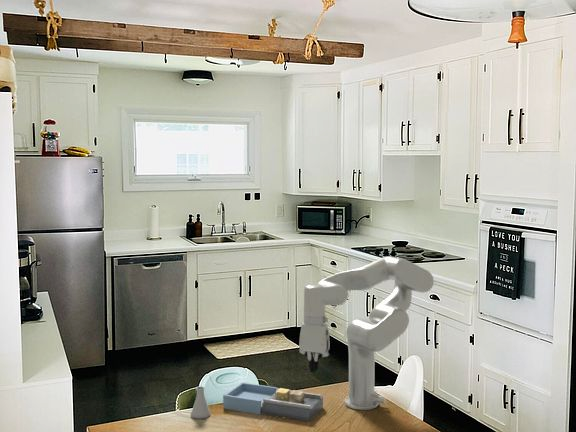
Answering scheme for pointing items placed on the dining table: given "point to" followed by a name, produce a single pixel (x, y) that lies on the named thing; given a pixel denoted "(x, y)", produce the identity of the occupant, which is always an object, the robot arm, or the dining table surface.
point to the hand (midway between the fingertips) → (313, 371)
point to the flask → (200, 405)
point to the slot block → (294, 407)
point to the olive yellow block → (282, 394)
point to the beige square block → (296, 396)
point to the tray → (247, 397)
